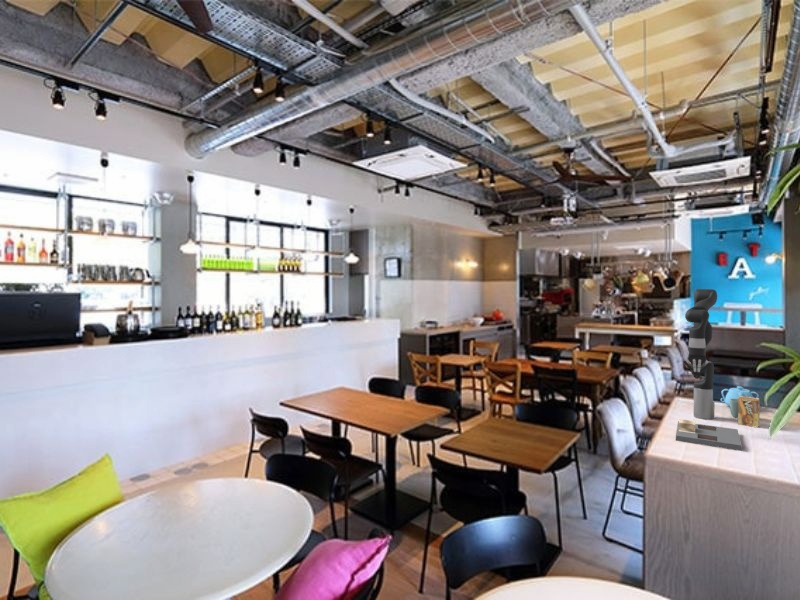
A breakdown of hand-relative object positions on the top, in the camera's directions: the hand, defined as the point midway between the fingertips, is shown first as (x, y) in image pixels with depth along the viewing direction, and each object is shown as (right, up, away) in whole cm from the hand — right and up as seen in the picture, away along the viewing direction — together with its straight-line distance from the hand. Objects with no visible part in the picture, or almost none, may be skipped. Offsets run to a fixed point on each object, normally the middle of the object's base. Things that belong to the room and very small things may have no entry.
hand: (696, 378), depth 237 cm
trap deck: (-4, -27, -14) cm, 31 cm away
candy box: (+31, -27, +4) cm, 42 cm away
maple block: (-11, -25, -9) cm, 29 cm away
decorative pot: (+53, -26, +38) cm, 70 cm away
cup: (+37, -26, +19) cm, 49 cm away
